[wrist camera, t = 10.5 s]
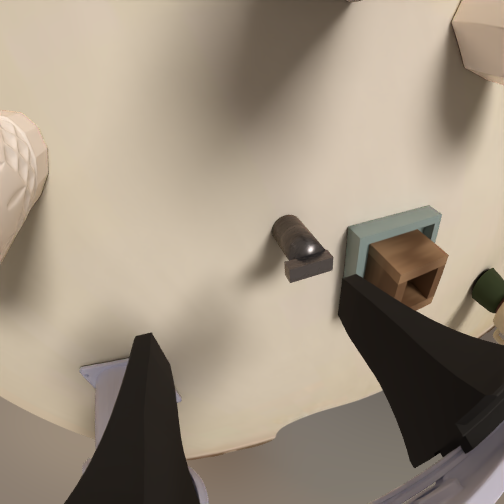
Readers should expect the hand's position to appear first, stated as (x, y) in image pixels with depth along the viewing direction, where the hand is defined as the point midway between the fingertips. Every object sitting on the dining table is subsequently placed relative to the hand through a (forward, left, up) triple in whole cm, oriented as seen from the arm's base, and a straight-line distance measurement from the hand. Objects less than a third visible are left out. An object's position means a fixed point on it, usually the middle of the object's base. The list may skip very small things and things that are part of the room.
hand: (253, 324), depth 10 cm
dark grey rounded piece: (-3, -5, -10) cm, 11 cm away
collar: (-9, -15, -9) cm, 20 cm away
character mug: (-22, -40, -10) cm, 47 cm away
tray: (-9, -15, -10) cm, 20 cm away
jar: (+13, -26, -10) cm, 31 cm away
